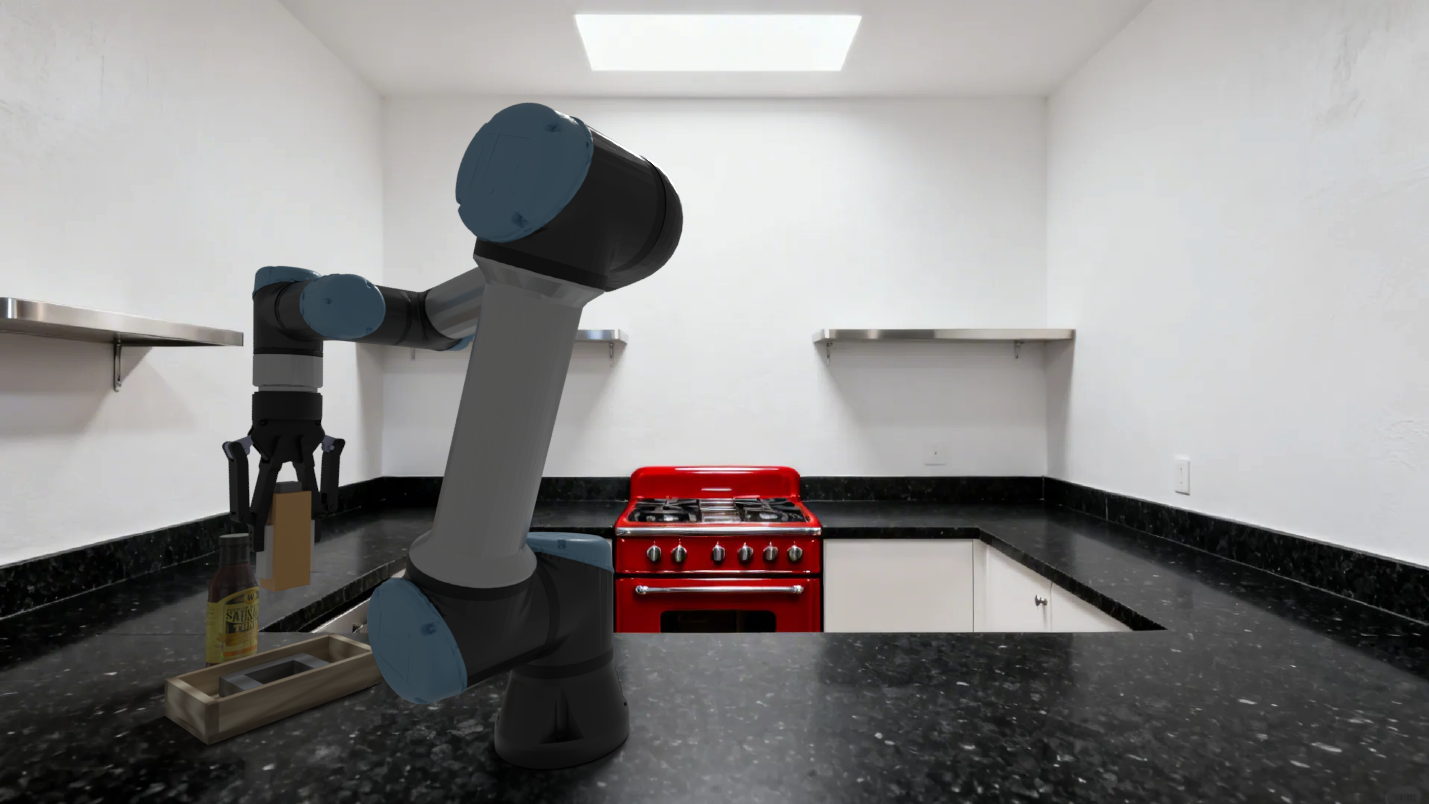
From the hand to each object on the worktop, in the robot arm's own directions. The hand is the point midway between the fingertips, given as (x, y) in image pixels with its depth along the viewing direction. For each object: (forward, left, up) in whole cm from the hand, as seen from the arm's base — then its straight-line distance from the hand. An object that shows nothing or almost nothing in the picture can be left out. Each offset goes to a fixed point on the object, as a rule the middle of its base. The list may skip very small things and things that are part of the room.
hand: (285, 572), depth 80 cm
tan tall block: (0, 0, -2) cm, 2 cm away
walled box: (+5, -1, -18) cm, 18 cm away
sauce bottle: (+23, -2, -18) cm, 29 cm away
